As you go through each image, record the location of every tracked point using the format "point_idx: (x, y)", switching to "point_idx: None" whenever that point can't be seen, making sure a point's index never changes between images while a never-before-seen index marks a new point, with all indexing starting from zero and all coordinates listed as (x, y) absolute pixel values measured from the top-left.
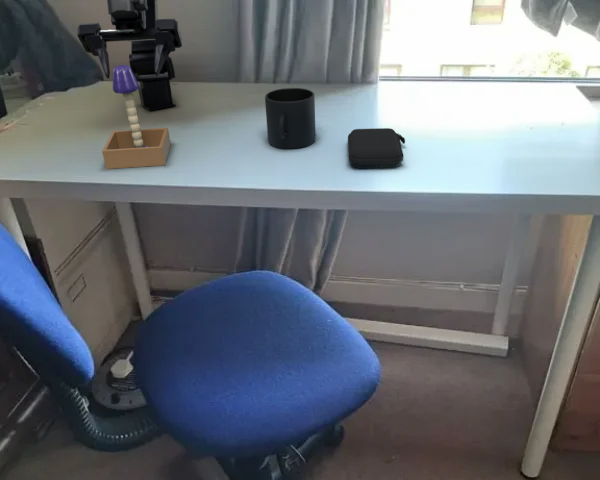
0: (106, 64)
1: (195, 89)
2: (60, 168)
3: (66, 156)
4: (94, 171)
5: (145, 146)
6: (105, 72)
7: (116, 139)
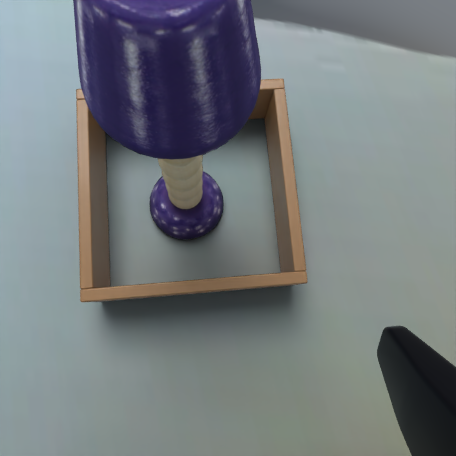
0: (444, 401)
1: None
2: (416, 131)
3: (438, 227)
4: (303, 98)
5: (166, 203)
6: (416, 342)
7: (287, 268)
